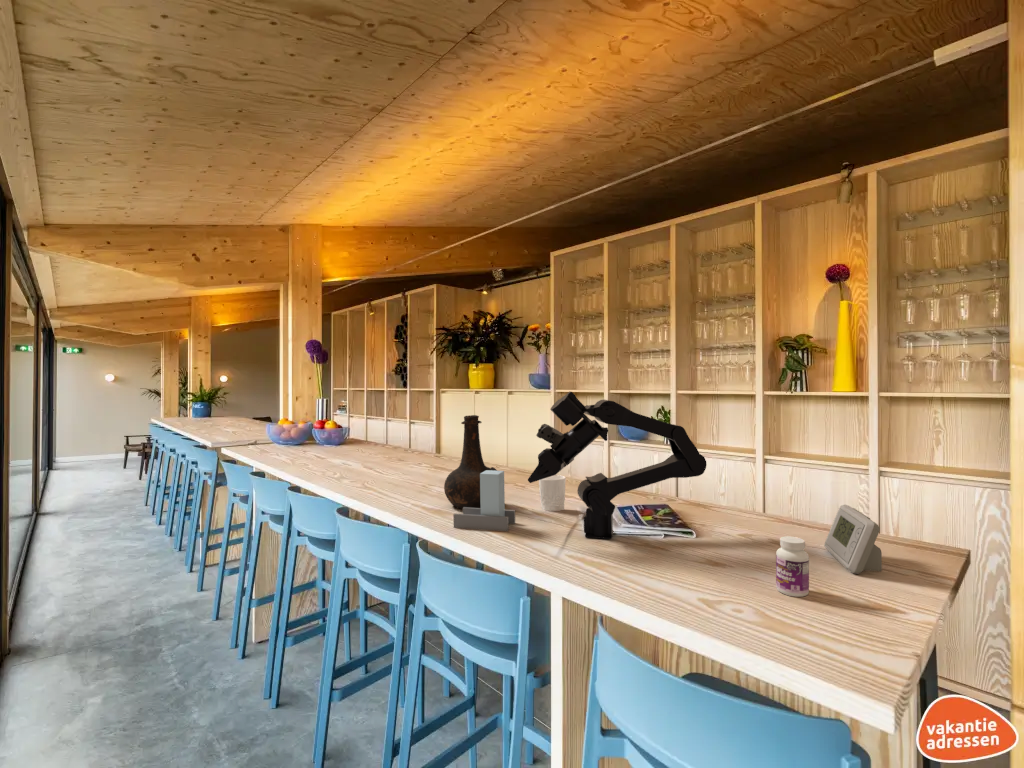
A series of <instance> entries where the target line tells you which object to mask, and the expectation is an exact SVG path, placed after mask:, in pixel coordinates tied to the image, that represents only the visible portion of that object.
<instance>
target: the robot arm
mask: <svg viewBox="0 0 1024 768" xmlns="http://www.w3.org/2000/svg"><path fill="white" fill-rule="evenodd" d="M550 411H551V413H553V414H554V415H555V416H556V417H557V418H558V419H559V420H560V421H561V422H562V424H564V425H565V426H569V425H570V426H571V427H572V428H571V429H570V430H569V431H566V432H564V433H563V432H561V431H559V430H558V429H557V428H554V427H553V426H551V425H549V424H546V423H543V424H541V425H540V427H539V428H538V431H537V433H536V435H535V436H536V437H537V438H538V439H542V440H544V441H546V442H548V444H550V445H549V447H550V448H548V447H547V448H544V449H543V450H542V451H541V452H540V453H539V454H537V460H538V463H537V465H536V467H535V469H533V470H532V473H531V474H530V475H529V477H528V478H527V481H528V483H530V484H533V483H535V482H537V481H538V482H539V480H541V479H544V478H547V477H550V476H554V475H558V473H559V472H561V471H562V470H563V469H564V468H566V467H567V466H568V465H570V464H571V463H572V462H573V461H575V458H576V457H577V456H578V455H579V454H581V452H583V451H584V450H586V448H587V447H588V446H589V445H590V444H592V443H593V442H594V441H595V440H596V439H598V438H599V437H601V438H602V440H604V441H605V442H607V441H608V434H609V428H608V427H604V426H602V425H601V424H600V423H603V424H607V425H614V426H622V427H631V428H635V429H638V430H641V431H644V432H648V433H650V434H654V435H657V436H661V437H663V438H667V440H668V443H669V447H670V450H671V452H672V454H671V455H670V456H669V457H667V458H666V459H665V460H663V461H661V462H658V463H655V464H652V465H647V466H646V467H643V468H642V467H641V468H638V469H636V470H632V471H629V472H626V473H622V474H619V475H616V476H613V477H607V476H606V475H605V474H604V473H602V472H599V473H597V474H594V475H592V476H585V479H584V480H581V482H579V484H578V486H577V495H578V497H579V499H580V500H582V502H583V503H584V504H585V506H586V507H587V508H586V511H585V514H584V516H583V533H584V538H587V539H589V538H590V539H603V540H612V538H613V536H614V533H615V530H614V526H613V525H614V524H613V523H614V522H613V520H614V516H613V515H614V512H615V509H616V505H615V504H614V503H613V502H611V501H612V500H614V498H615V497H617V496H618V495H621V494H625V493H628V492H630V491H634V490H637V489H640V488H643V487H645V486H649V485H653V484H656V483H659V482H662V481H666V480H669V479H673V478H674V479H675V478H676V479H677V478H678V479H679V478H681V479H683V478H684V479H685V478H686V479H687V478H693V477H699V476H701V475H703V474H704V473H705V471H706V468H707V460H706V458H705V456H703V454H701V453H700V452H699V450H698V448H697V446H696V445H695V444H694V442H693V441H692V440H691V438H690V436H689V435H688V433H687V431H686V429H685V428H684V427H683V426H681V425H678V424H673V423H668V422H666V421H662V420H659V419H655V418H652V417H649V416H645V415H642V414H640V413H637V412H634V411H633V410H630V409H629V408H627V407H626V406H623V405H622V404H620V403H618V402H616V401H614V400H610V399H604V398H603V399H600V400H597V402H595V404H591V405H588V404H586V405H584V403H582V402H581V401H580V400H579V398H577V396H576V394H575V393H574V392H573V391H569V392H567V393H566V394H565V395H562V397H561V398H558V399H557V400H556V401H555V403H554V404H553V405H552V406H551V407H550ZM588 416H590V417H594V419H593V420H592V419H590V417H588ZM598 421H599V422H600V423H599V422H598ZM613 530H614V531H613ZM613 532H614V533H613Z"/></svg>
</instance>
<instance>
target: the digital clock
mask: <svg viewBox="0 0 1024 768" xmlns="http://www.w3.org/2000/svg"><path fill="white" fill-rule="evenodd" d="M880 532H881V527H880V526H879V524H878V523H876V522H875V521H873V520H872V519H871V517H869V516H867V515H866V514H864V513H862V512H861V511H860V510H858V509H856V508H854V507H852V506H850V505H848V504H842V505H840V506H839V508H838V510H837V511H836V515H835V517H834V520H833V522H832V524H831V527H830V529H829V531H828V534H827V536H826V538H825V541H824V544H823V546H824V547H825V549H826V550H827V551H828V552H829V553H830V554H831V556H832V557H833V558H835V559H836V561H837V562H839V563H840V565H842V566H843V567H844V568H845V569H846V570H848V571H849V572H850V573H853V574H854V575H855V574H856V575H857V574H858V575H859V574H861V573H862V572H863V571H870V572H882V571H883V569H882V567H883V566H882V565H883V564H882V563H883V560H882V559H883V558H882V556H883V555H882V554H883V553H882V549H881V548H880V547H879V546H877V545H876V544H875V542H876V540H877V538H878V536H879V533H880Z"/></svg>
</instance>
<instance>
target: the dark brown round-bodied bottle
mask: <svg viewBox="0 0 1024 768" xmlns="http://www.w3.org/2000/svg"><path fill="white" fill-rule="evenodd" d="M479 417H480V415H476V414H471V415H465V416H463V419H464V420H463V421H461V423H460V424H462V425H463V428H464V429H463V444H462V445H463V446H462V452H461V461H460V464H459V466H458V467H457V468H456V469H454V470H452V471H451V472H450V473H449V474H448V475H447V477H446V478H445V481H444V484H443V489H444V495H445V497H446V499H447V500H448V501H449V503H450V504H451V505H452V506H453V507H456V509H461V510H463V508H464V507H470V508H481V505H480V473H482V472H484V471H486V470H495V471H498V470H497V469H496V468H495V467H493V466H491V467H488V466H487V465H486V464H485V463H484V459H483V454H482V449H481V441H480V430H479V429H480V427H479V424H482V421H481V420H479Z"/></svg>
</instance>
